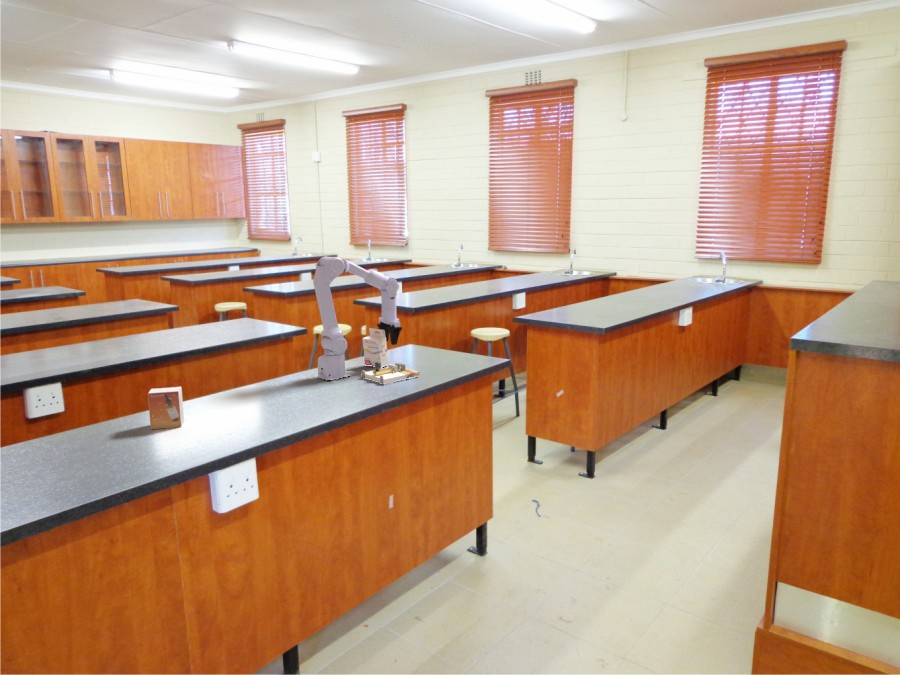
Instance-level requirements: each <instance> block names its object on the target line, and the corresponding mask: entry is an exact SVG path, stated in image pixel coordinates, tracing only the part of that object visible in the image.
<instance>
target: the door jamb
mask: <svg viewBox="0 0 900 675" xmlns="http://www.w3.org/2000/svg"><path fill="white" fill-rule="evenodd" d="M394 365H396V366H398V372H399V373H403V374H406V375H407V378H409V377H414V376H418V375H419V376H420V371H418V370H414V369H410V368H407V367H406V364H405V363H401V362H394ZM385 368H388V366H386V367H385ZM392 368H394V367H392Z"/></svg>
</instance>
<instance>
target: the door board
mask: <svg viewBox="0 0 900 675" xmlns="http://www.w3.org/2000/svg"><path fill="white" fill-rule="evenodd" d="M387 367H388V368H390V367H391V368H392V367H394V372H389V373H384V374H380V375H374V374H373V371H375V369H372V370H367V371H366V370H364V369H363V370H361V373H360V374H361V375H360V378H361V377H362V378H368V379H371V380H374V381H378V382H380V383H388V382H392V381H396V380H400V379H405V378H407V375H406V374H403V373H399V372H398V366H396V365H395V364H392V363H388V366H387ZM385 368H386V367H384V368H381V369H385ZM362 378H361V379H362ZM380 383H379V384H380Z"/></svg>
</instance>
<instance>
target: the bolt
mask: <svg viewBox="0 0 900 675" xmlns="http://www.w3.org/2000/svg"><path fill="white" fill-rule="evenodd" d="M384 368H385V369H381V362H375V368H374V370H375V371H373V374H374V375H380V374H384V373H389V372H394V368H391V367H390V368H386V367H384Z"/></svg>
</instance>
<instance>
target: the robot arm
mask: <svg viewBox="0 0 900 675" xmlns="http://www.w3.org/2000/svg"><path fill="white" fill-rule="evenodd" d="M315 268H316V269H315V273H314V276H313V280H312V281H313V282H312V283H313V284H312V285H313V288H314V292H315V296H316V301H317V305H318V310H319V314H320V320H321V324H322V328H323V329H322V331H321V334H320V335H321V340H320V345H321V347H322V349H323V350H324V352H323V353H324V354H323V355H320V356H319V357H318V358H317V376H316V377H317V378H318V377H320V378H319V379H321V378H323V379H322V380H324V379H325V381H327V380H331V381H335V380H334V379H336V380H339V378H341V379H344V378H343V377H345V378H349V377H348V376H350V377H351V375H350V374H347V373H346V359H345V352H346V351H347V349H348V342H347V340H346V338H345V337H344V335H343V332H342V330H341V329H340V327H339V323H338V319H337V315H336V310H335V304H334V300H333V296H332V290H331V286H330V285H331V284H332V282H333V281H334V280H335V279H337V278H339V276H340V275H341V274H343V273H349V274H352V275H355V276H357V277H360V278H362V279H363V281H364V283H365V284H368V285H370V286H372V287H375V288H376V289H378V290H379V291H380V293H381V294H380V296H381V317H378V323H376V327H377V329H381V330H385V336H386V342H389V339H390V344H391V346H395V345H398V341H399V337H400V334H401V331H402V329H403V326H401V322H400V318H397V293H398V290H399V289H400V284H399V282H398V281H397V278H395V277H389V276H388V274H386V273H382V272H379V270H378V269H377V268H370V269H366V268H363V267H362V266H359V265H357V264H355V263H353V261H350V260H347V259H345V258H341V257H338V256H336V257H335V256H334V257H333V256H326V255H325V256H322V257H321V258H319V259H318V261H317V262H316V264H315Z"/></svg>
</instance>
